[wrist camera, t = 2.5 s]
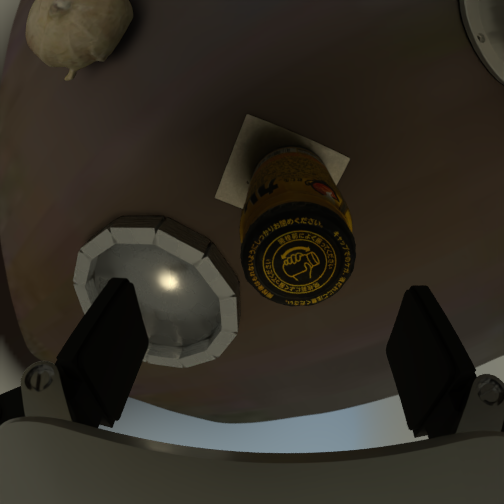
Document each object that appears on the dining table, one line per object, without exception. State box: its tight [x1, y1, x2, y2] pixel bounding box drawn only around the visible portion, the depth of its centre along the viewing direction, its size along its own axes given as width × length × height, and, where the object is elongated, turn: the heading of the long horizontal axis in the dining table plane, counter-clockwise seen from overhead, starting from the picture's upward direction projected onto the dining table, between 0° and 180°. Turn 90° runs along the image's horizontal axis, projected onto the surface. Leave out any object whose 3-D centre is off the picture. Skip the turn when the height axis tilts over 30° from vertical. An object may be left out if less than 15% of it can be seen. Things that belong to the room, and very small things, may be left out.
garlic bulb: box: [26, 0, 133, 81], centre depth 14 cm, size 9×8×10 cm
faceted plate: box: [73, 216, 241, 368], centre depth 29 cm, size 17×17×2 cm
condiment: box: [215, 114, 356, 306], centre depth 18 cm, size 7×8×12 cm
